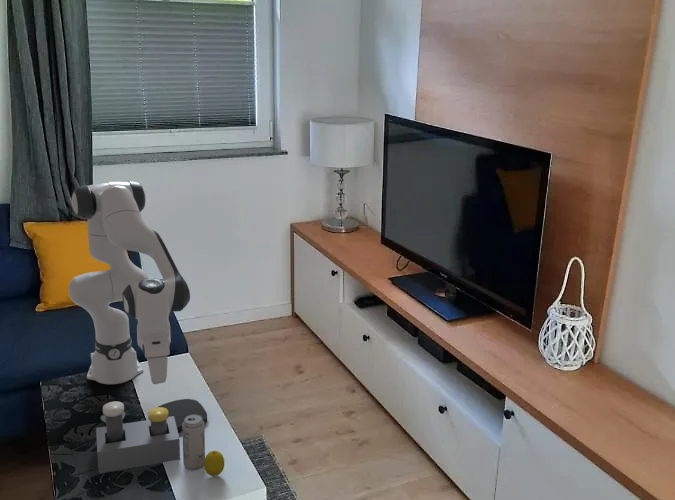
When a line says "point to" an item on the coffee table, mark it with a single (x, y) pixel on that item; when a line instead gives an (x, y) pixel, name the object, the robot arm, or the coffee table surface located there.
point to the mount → (137, 446)
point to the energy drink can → (193, 442)
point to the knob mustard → (158, 421)
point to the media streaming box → (184, 410)
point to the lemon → (214, 463)
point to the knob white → (114, 421)
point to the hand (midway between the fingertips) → (155, 381)
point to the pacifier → (105, 417)
